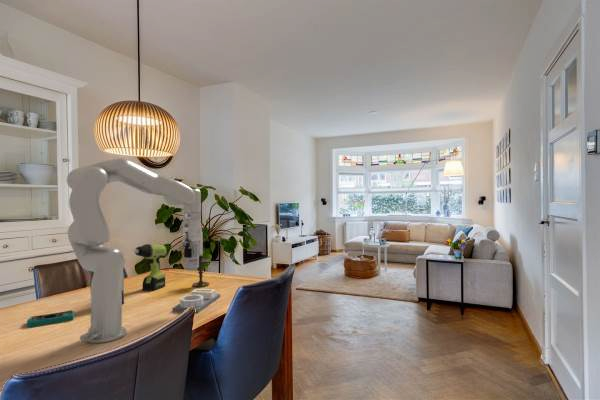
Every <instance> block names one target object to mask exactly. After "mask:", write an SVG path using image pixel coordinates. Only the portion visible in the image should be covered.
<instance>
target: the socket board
mask: <svg viewBox="0 0 600 400" xmlns="http://www.w3.org/2000/svg"><path fill="white" fill-rule="evenodd" d="M220 298H221V293H217V289H208V288H195V289H193V290H191V291H190V294H188V295H187V294H186V295H184V296H181V297H180V298H179V304H177V305H175V306H173V307H172V312H175V313H176V312H178V313H184V312H183V311H184V310H186V309H187V308H188V307H191V306H194V307H195V309H196V313H195V314H198V313H200V312H202V311H203V310H204V309H206V308H207V307H209V306H210V305H211V304H212V303H214V302H215V301H217V300H218V299H220Z"/></svg>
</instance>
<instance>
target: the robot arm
mask: <svg viewBox="0 0 600 400" xmlns="http://www.w3.org/2000/svg"><path fill="white" fill-rule="evenodd" d="M114 182H119V183H122V184H125V185H127V186H129V187H132V188H134V189H136V190H138V191H140V192H143V193H146V194H149V195H155V196H163V198H164V201H165V203H167V204H168V205H171V206H182V207H183V209H182V211H183V212H182V215H183V217H182V220H183V222H182V224H183V225H182V240H181V242H182V246H183V249H184V252H183V255H184V259H185V258H191V257H192V248H191V244H192V242H195V241H197V239H199V242H200V240H201V239H202V232H203V231H202V230H203V226H202V227H201V225H202V222H201V220H202V219H201V216H202V214H201V213H202V203H201V202H202V199H201V198H202V194H201V193H202V191H201V190H200V189H197V188H191V187H190V186H188V185H186V184H185V183H182V182H180V181H179V180H175V179H173V178H169V177H166V176H163V175H161V174H158V173H154V172H153V171H150V170H149V169H147V168H145V167H143V166H141V165H139V164H137V163H135V162H133V161H131V160H129V159H126V158H114V159H113V158H112V159H107V160H103V161H100V162H96V163H94V164H89V165H84V166H81V167H78V168H75V169H72V170H71V171H70V172H69V173H68V175H67V176H66V183H67V186H68V187H69V188H70V190H71V192H70V195H69V199H68V200H69V201H68V203H69V205H68V206H69V210H70V213H71V215H72V218H73V220H74V221H73V222H72V223H70V225H69V227H68V230H67V237H68V240H69V243H70V246H71V247H72V250H73V252H74V255H75V257H76V259H77V261H78V263H79V265H80V266H81V267H82V268H83V269H84V270H85V271H86V270H87V271H88V272H89V271H90V272H93V276H92V279H91V282H92V283H91V282H90V284H91V290H90V326H89V327H88V331H87V332H86V333H83V334H81V335H80V336H79V340H80V341H81V342H84V341H86V342H87V343H89V344H90V343H92V344H100V343H107V342H112V341H115V340H118V339H120V338H122V337H124V336H125V335H126V334H127V330H128V329H127V328H126V327H125V326H123V323H122V322H123V321H122V319H123V317H122V316H123V313H122V312H123V309H122V308H123V307H122V306H123V304H122V274H123V271H124V268H125V262H126V261H125V256H124V255H125V254H124V253H123V252H122V251H121V249H118V248H116V247H114V246H108V245H105V244H107V243H108V242H109V240H110V238H111V231H110V230H111V229H110V227H109V224H108V222H107V220H106V218H105V214H104V212H103V210H102V206H101V203H100V198H101V194H102V192H103V190H104V189H105V187H106V186H107V185H108V184H111V183H114ZM187 240H190V241H187ZM188 243H189V244H188Z"/></svg>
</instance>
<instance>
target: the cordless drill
mask: <svg viewBox="0 0 600 400" xmlns="http://www.w3.org/2000/svg"><path fill="white" fill-rule="evenodd" d="M133 252H134V253H135V256H138V257H142V258H144V259H146V260H147V264H149V265H150V273H149V274H148V275H146V276H145V277H144V278H143V281H142V291H144V292H145V291H148V292H155V291H157V290H160V289H162V288H165V287H166V273H164V272H162V271H161V264H160V263H161V262H160V258H161V257H165V256H166V255H167V247H166V246H165V245H163V244H154V243H153V244H152V243H151V244H149V243H146V244H143V245H141V246H137V247H136V248H135V250H134V251H133Z"/></svg>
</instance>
